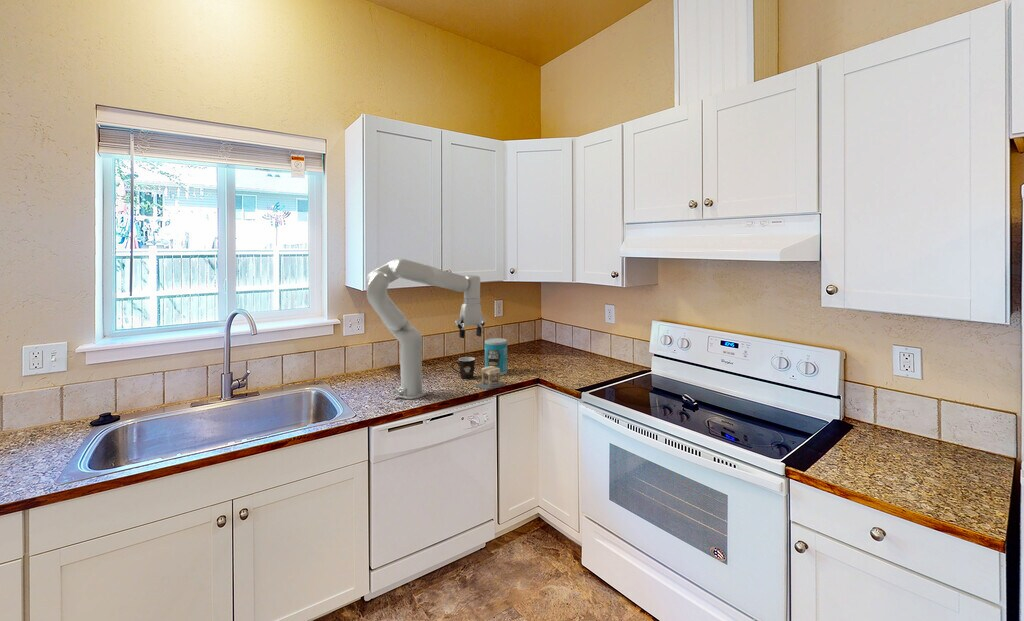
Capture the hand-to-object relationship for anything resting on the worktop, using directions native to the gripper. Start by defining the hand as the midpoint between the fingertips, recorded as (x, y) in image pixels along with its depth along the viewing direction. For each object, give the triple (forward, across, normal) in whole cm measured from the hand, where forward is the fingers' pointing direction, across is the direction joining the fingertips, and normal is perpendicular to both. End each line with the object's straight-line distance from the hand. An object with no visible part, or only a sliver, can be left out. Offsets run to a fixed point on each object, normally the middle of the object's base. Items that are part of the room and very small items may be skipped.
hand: (470, 336), depth 215 cm
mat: (+24, -10, +5) cm, 27 cm away
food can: (+24, -25, -11) cm, 37 cm away
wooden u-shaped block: (+23, -10, +5) cm, 26 cm away
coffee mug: (+25, -7, -15) cm, 30 cm away
